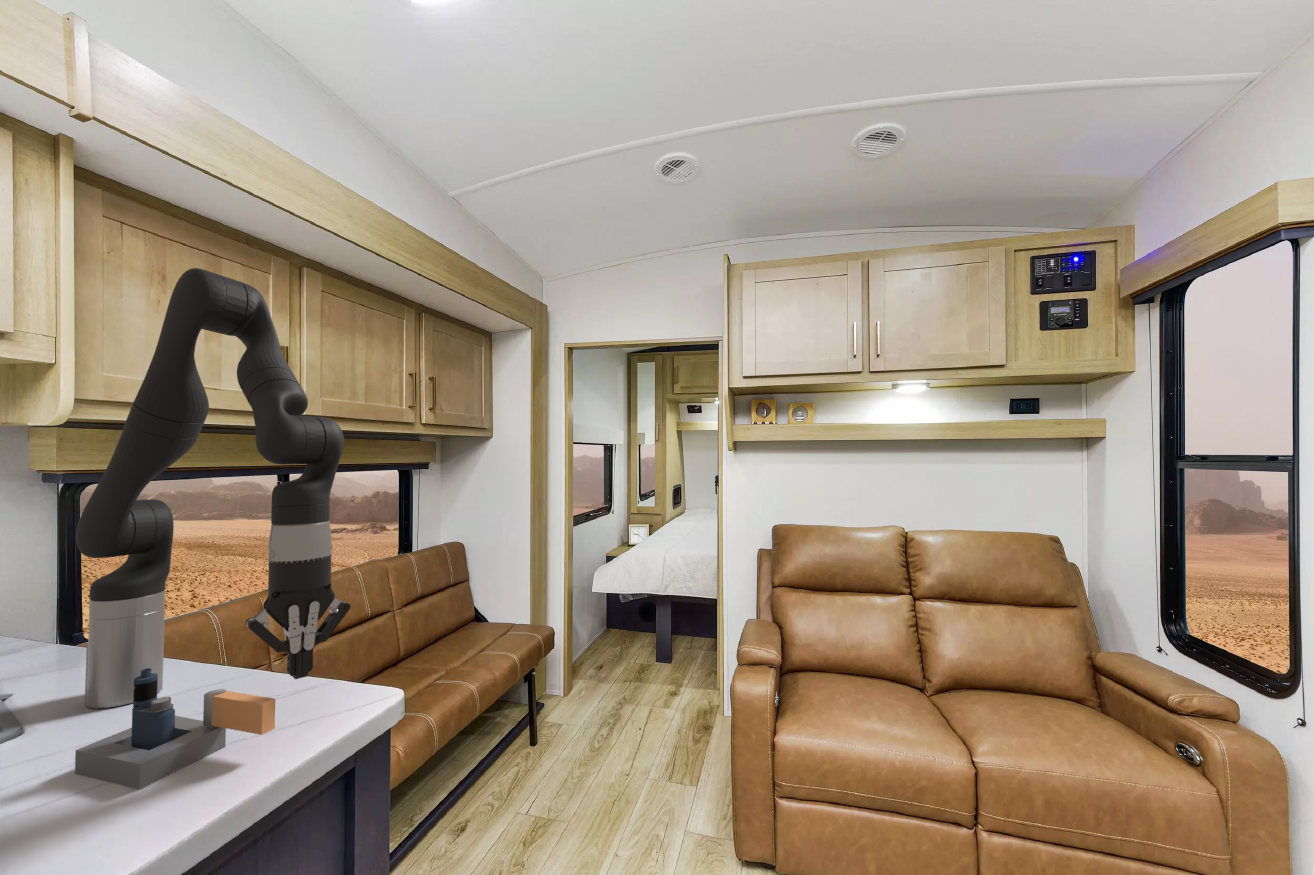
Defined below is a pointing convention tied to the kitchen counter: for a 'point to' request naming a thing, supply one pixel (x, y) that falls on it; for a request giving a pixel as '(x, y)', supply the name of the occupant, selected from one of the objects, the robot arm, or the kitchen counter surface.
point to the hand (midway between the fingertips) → (299, 676)
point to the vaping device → (151, 714)
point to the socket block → (148, 754)
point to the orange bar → (239, 711)
